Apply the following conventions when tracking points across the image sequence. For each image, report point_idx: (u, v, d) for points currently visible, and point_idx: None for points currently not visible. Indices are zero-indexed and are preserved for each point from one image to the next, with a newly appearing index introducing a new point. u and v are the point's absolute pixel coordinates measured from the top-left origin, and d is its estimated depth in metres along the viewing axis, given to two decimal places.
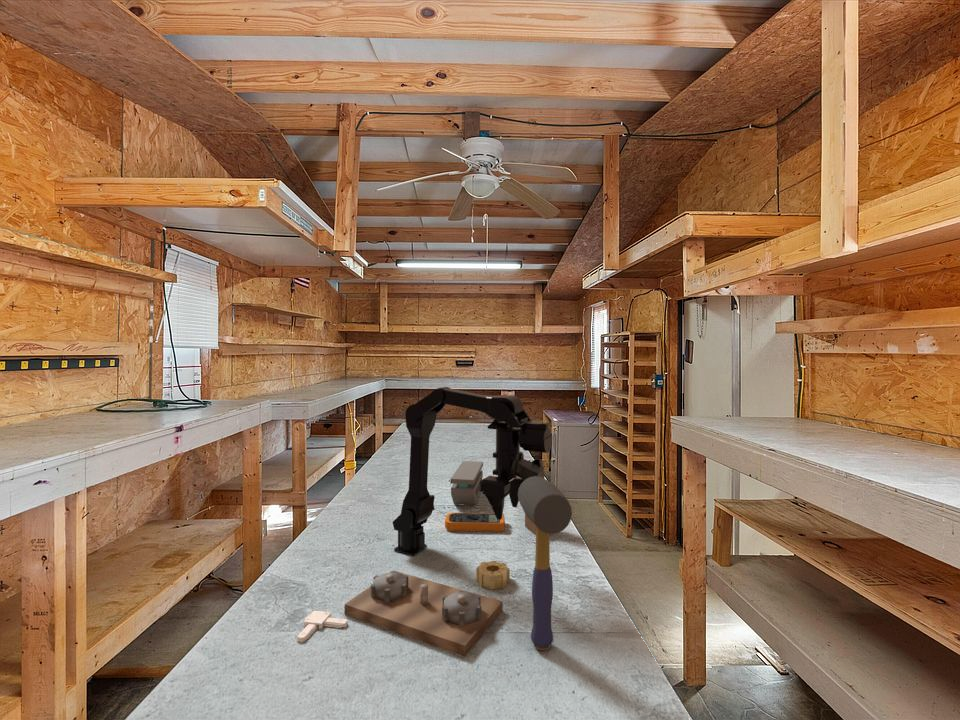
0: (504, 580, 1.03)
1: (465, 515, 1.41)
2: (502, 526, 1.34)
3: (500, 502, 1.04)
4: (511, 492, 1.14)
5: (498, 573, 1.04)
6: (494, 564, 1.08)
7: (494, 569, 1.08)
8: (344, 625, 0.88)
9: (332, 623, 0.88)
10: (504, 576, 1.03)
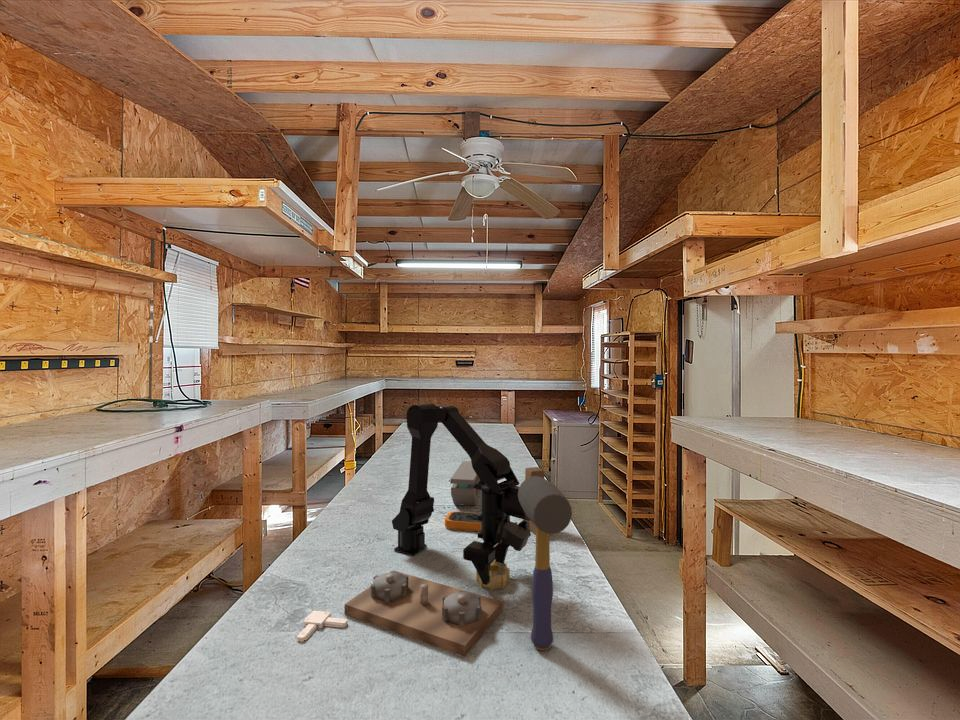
0: (504, 580, 1.03)
1: (466, 514, 1.41)
2: None
3: (486, 568, 1.01)
4: (496, 554, 1.10)
5: (498, 573, 1.04)
6: (494, 564, 1.08)
7: (494, 569, 1.08)
8: (344, 625, 0.88)
9: (332, 623, 0.88)
10: (504, 576, 1.03)
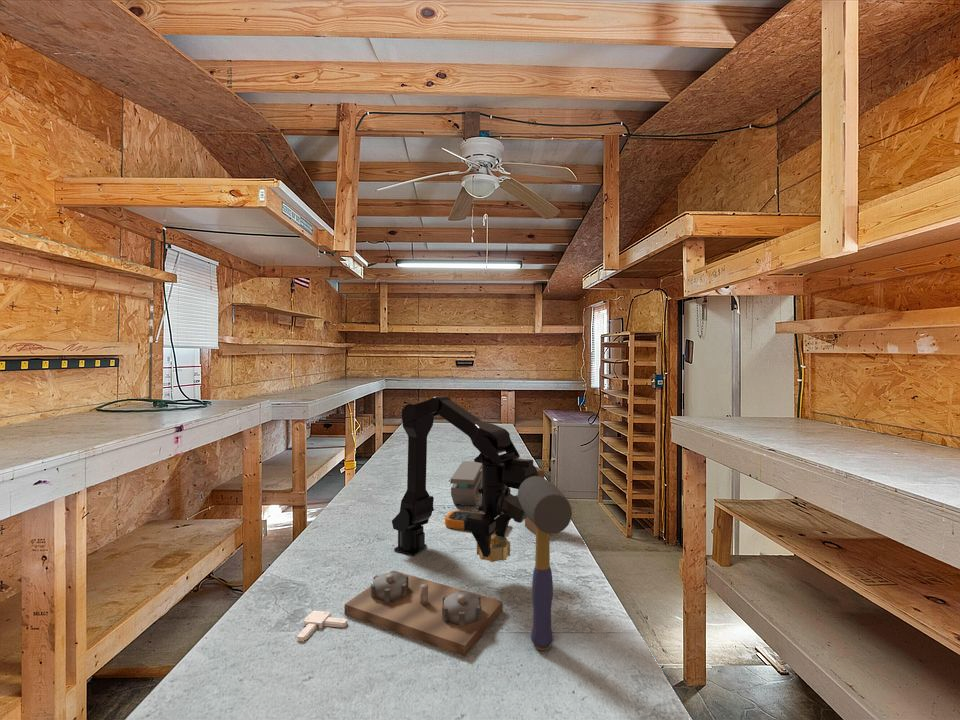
0: (505, 553, 1.03)
1: (467, 514, 1.42)
2: None
3: (487, 540, 1.01)
4: (497, 528, 1.10)
5: (499, 546, 1.03)
6: (495, 538, 1.08)
7: (495, 543, 1.07)
8: (344, 624, 0.88)
9: (332, 622, 0.88)
10: (505, 548, 1.03)
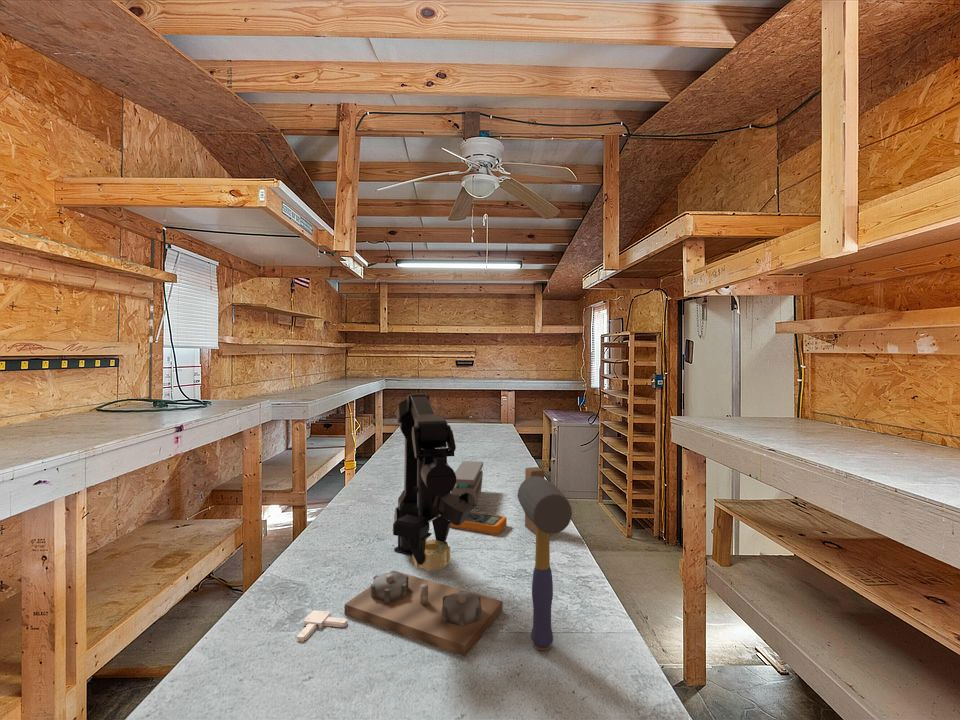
0: (442, 559, 0.91)
1: None
2: (495, 529, 1.32)
3: (420, 545, 0.89)
4: (437, 531, 0.98)
5: (436, 552, 0.91)
6: (434, 543, 0.96)
7: (434, 548, 0.95)
8: (344, 624, 0.88)
9: (332, 622, 0.89)
10: (442, 555, 0.91)
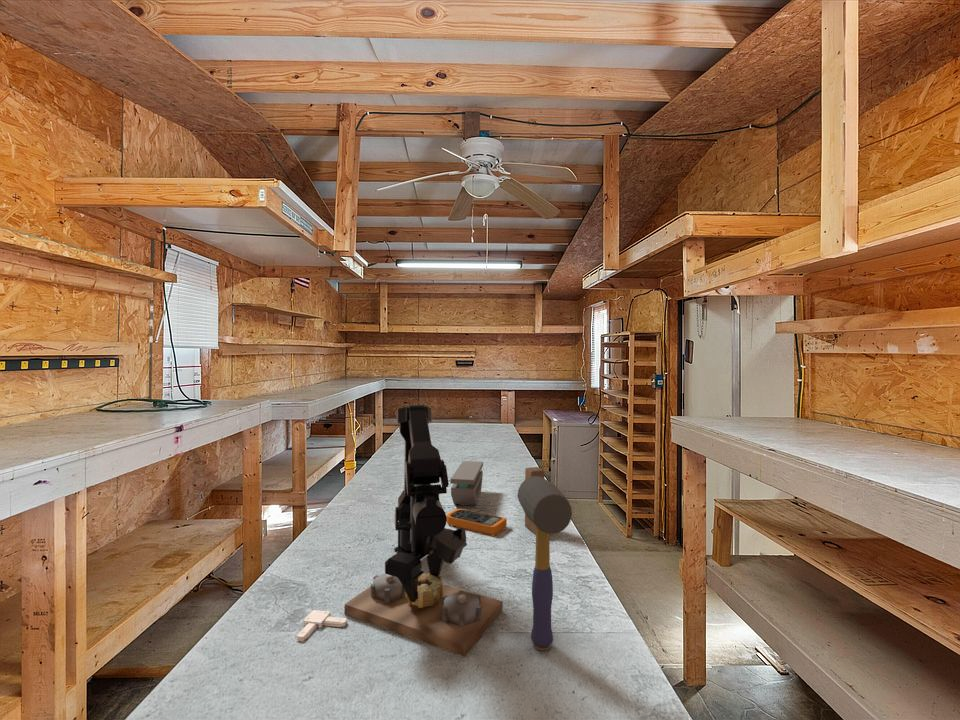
0: (435, 597, 0.90)
1: (470, 513, 1.43)
2: (492, 530, 1.32)
3: (412, 583, 0.88)
4: (431, 566, 0.97)
5: (429, 589, 0.91)
6: (427, 578, 0.95)
7: (427, 583, 0.95)
8: (344, 624, 0.88)
9: (332, 622, 0.89)
10: (435, 592, 0.90)
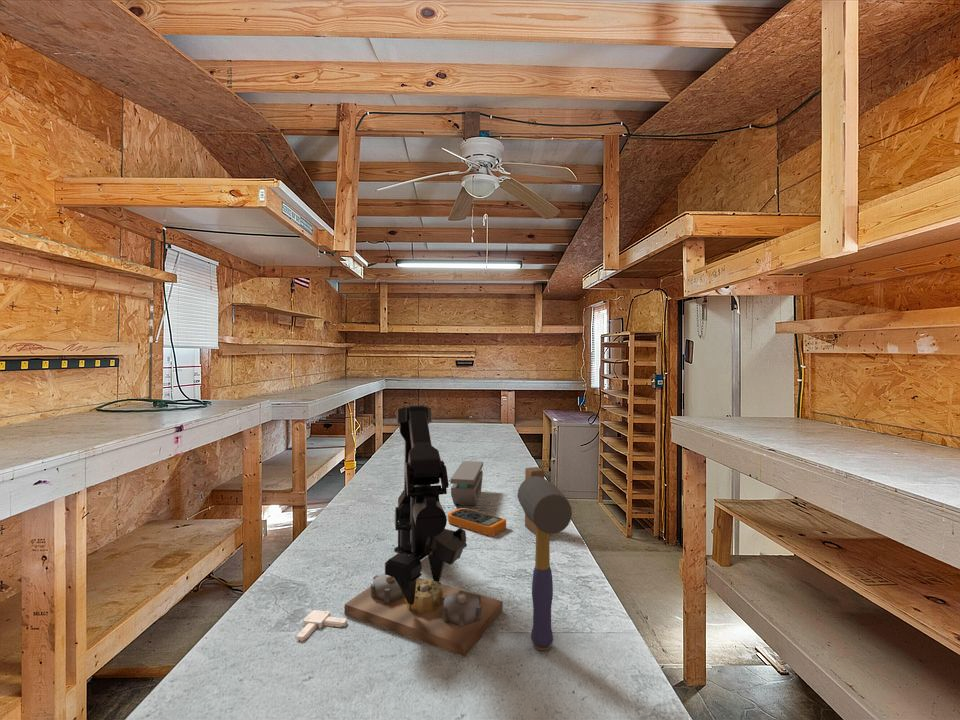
0: (435, 602, 0.90)
1: (471, 513, 1.43)
2: (489, 530, 1.31)
3: (410, 586, 0.87)
4: (433, 565, 0.98)
5: (428, 594, 0.91)
6: (427, 583, 0.95)
7: None
8: (344, 624, 0.88)
9: (332, 622, 0.89)
10: (435, 598, 0.90)
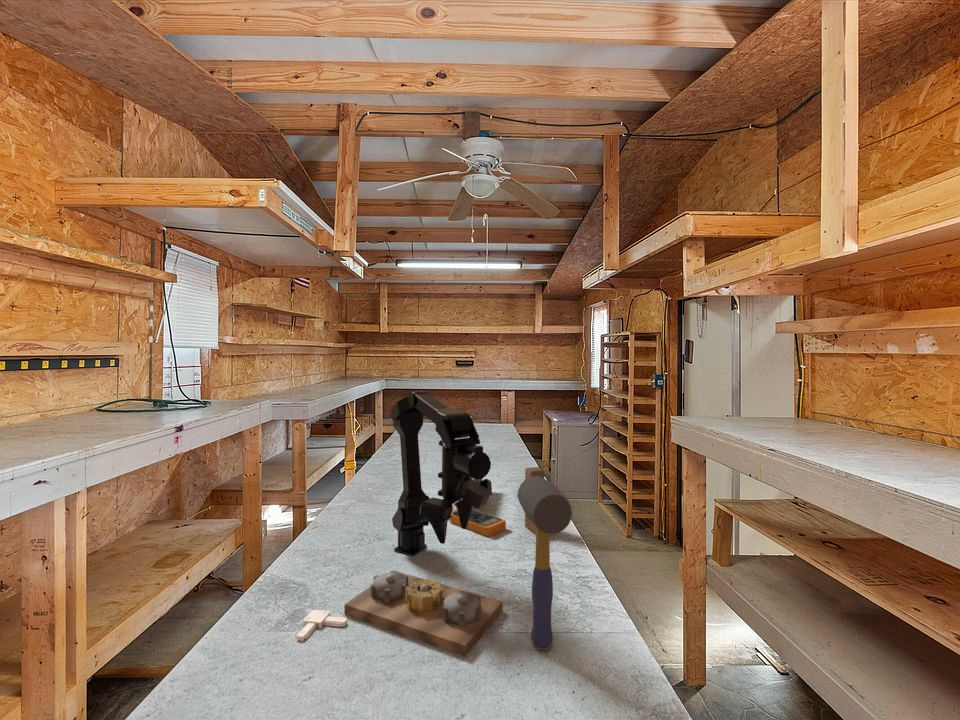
0: (435, 602, 0.90)
1: (473, 512, 1.43)
2: (486, 531, 1.31)
3: (442, 526, 0.98)
4: (461, 513, 1.08)
5: (428, 594, 0.91)
6: (427, 583, 0.95)
7: None
8: (343, 624, 0.88)
9: (331, 622, 0.89)
10: (435, 598, 0.90)
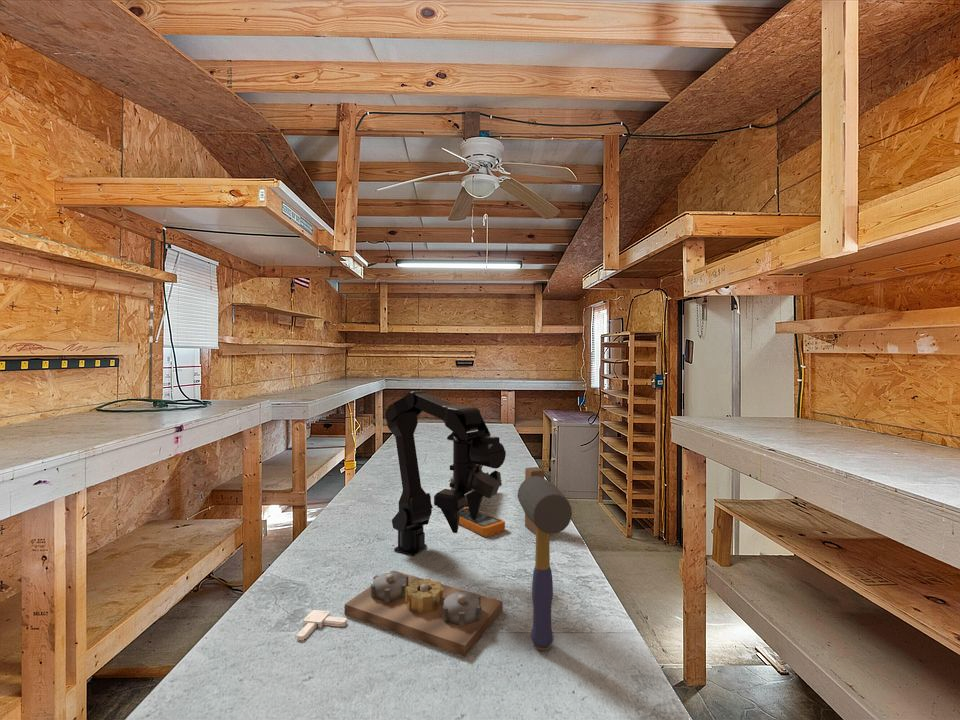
0: (435, 602, 0.90)
1: None
2: (483, 531, 1.31)
3: (455, 516, 1.02)
4: (470, 504, 1.13)
5: (428, 594, 0.91)
6: (427, 583, 0.95)
7: None
8: (343, 624, 0.89)
9: (331, 622, 0.89)
10: (435, 598, 0.90)
